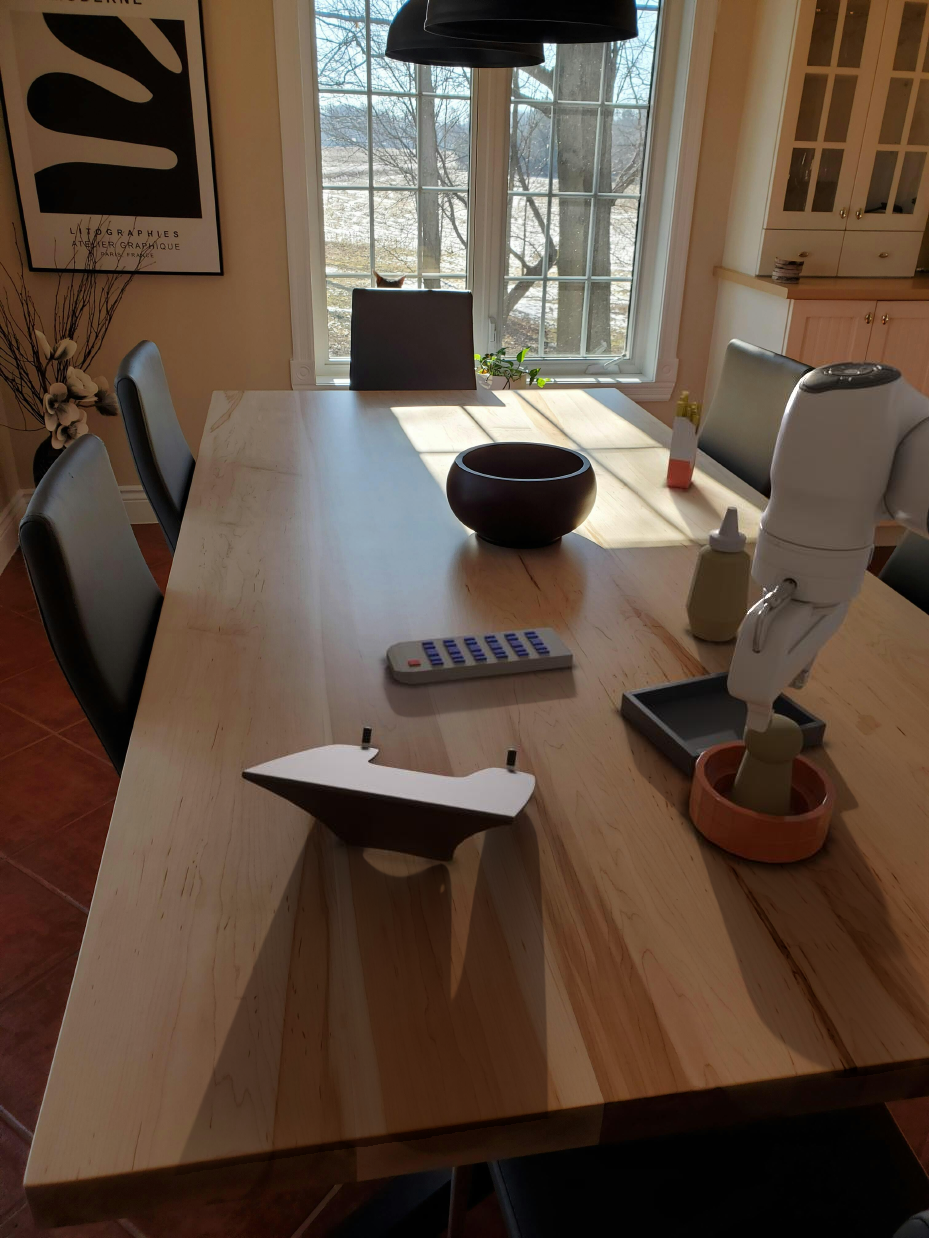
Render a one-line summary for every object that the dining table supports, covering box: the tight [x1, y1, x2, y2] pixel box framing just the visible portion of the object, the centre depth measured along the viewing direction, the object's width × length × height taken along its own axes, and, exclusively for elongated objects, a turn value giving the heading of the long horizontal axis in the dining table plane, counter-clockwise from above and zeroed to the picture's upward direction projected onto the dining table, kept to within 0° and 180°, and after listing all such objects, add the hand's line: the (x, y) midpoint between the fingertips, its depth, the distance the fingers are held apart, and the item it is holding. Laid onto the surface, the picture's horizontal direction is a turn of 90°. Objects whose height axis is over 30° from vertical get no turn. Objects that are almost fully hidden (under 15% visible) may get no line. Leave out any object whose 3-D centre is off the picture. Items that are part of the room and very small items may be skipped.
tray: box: [619, 670, 827, 778], centre depth 101 cm, size 18×14×3 cm
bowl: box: [688, 741, 837, 864], centre depth 86 cm, size 13×13×5 cm
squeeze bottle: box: [685, 506, 751, 642], centre depth 119 cm, size 8×8×18 cm
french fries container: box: [666, 390, 703, 490], centre depth 181 cm, size 5×11×18 cm, turn 160°
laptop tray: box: [241, 726, 536, 863], centre depth 83 cm, size 23×23×9 cm
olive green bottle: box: [728, 714, 803, 816], centre depth 84 cm, size 6×6×11 cm
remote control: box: [386, 626, 574, 685], centre depth 114 cm, size 8×23×2 cm, turn 105°
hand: (777, 705), depth 81 cm, fingers open, 8 cm apart
